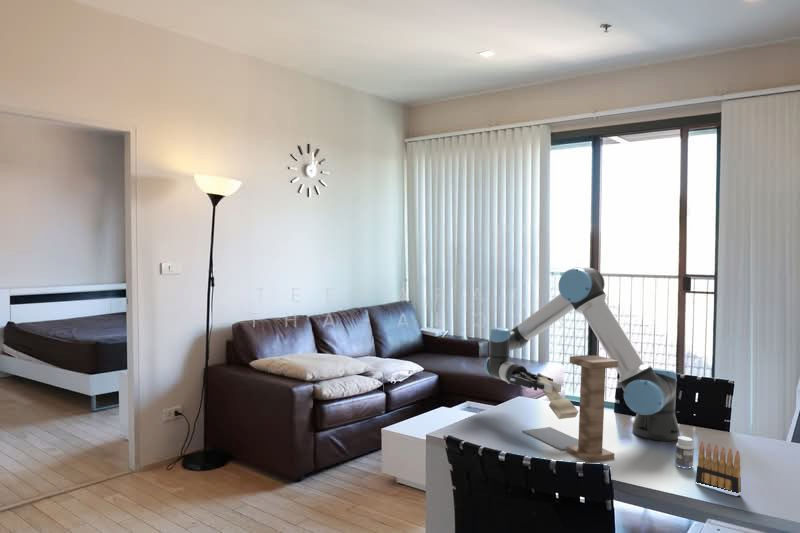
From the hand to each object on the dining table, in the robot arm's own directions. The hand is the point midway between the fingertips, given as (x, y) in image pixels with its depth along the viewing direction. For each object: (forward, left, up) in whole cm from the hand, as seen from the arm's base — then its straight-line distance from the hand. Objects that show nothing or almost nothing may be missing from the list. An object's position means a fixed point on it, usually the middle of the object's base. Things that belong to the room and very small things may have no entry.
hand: (555, 388), depth 191 cm
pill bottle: (-37, +13, -17) cm, 43 cm away
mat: (0, 0, -17) cm, 17 cm away
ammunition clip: (-42, +29, -17) cm, 54 cm away
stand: (-11, +13, -17) cm, 24 cm away
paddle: (+1, -1, -4) cm, 4 cm away
